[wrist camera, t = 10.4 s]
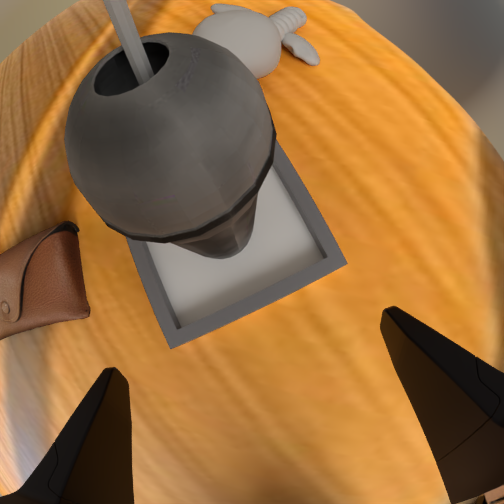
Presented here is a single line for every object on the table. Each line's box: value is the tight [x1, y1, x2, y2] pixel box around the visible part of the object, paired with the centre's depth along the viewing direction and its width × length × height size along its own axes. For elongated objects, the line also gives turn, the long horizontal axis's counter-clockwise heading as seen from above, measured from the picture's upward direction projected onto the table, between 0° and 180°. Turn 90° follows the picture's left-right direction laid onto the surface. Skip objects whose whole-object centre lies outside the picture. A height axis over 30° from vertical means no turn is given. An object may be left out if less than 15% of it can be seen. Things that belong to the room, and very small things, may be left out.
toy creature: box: [192, 4, 320, 79], centre depth 21 cm, size 13×7×20 cm
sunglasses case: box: [0, 221, 90, 340], centre depth 20 cm, size 18×7×7 cm
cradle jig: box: [126, 140, 348, 349], centre depth 20 cm, size 13×13×2 cm
